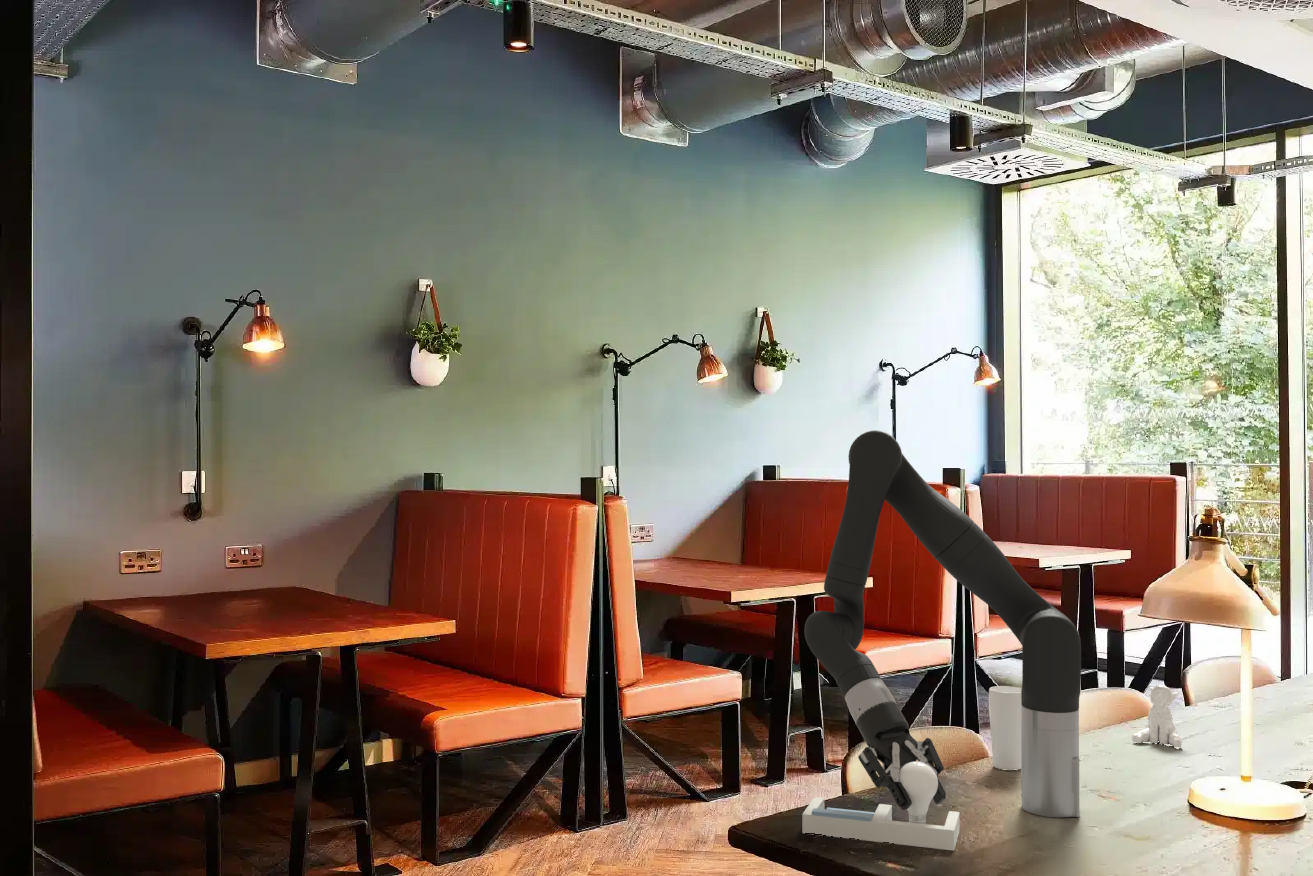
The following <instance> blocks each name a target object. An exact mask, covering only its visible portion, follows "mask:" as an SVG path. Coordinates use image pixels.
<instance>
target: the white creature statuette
mask: <svg viewBox="0 0 1313 876" xmlns="http://www.w3.org/2000/svg"><path fill="white" fill-rule="evenodd" d="M1149 690H1150V694H1149V697H1150V703H1152V704H1153V705H1152V706H1151V707H1150V708H1149V711H1148V715H1147V724H1146V725H1145V728H1144V729H1142V730H1141V729H1140V730H1138V731H1136V732H1135V733H1134V734H1133V735H1132V736H1131V740H1132V742H1133V743H1134V742H1137V743H1143V742H1151V743H1159V742H1160V743H1159V744H1168V743H1169V744H1170V745H1172V746H1174V747H1181V748H1182V745H1183V741H1182V738H1181V737H1180V736H1179V735H1178V732H1177V731H1176V727H1175V725H1174V722H1173V714H1172V711H1171V709H1170V708H1169V707H1170V706H1171V705H1172V704H1173V701H1175V700H1176V699H1177V697H1178V694H1179V692H1178V691H1176V692H1173V691H1172V689H1171V688H1170V687H1167V685H1164V684H1157V685H1154V686H1153V687H1152V686H1149ZM1158 741H1159V742H1158Z"/></svg>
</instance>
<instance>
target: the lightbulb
mask: <svg viewBox="0 0 1313 876" xmlns="http://www.w3.org/2000/svg"><path fill="white" fill-rule="evenodd" d="M937 777H938V776H936V773H935V772H934V770H933V769H932V768H931V767H930V766H929V765H927V764H925V763H923V762H918V760H916V761H914V762H909V763H907V764H905V765H904V766H903V767H902V768H901V769H900V770H899V781H898V782H901V783H902V785H903V787H904V788H905V790H906V792H907V794H908V795H909V797H910V799H911V801H912V804H911V806H910V807H909V808H908V809H907V812H908V822H910V823H919V824H927V819H926V818H927V813H928V811H929V807H930V803H931V801H932V800H933V797H934V796H935V794H936V792H937V789H938V779H939V778H938V779H937Z"/></svg>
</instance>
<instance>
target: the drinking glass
mask: <svg viewBox="0 0 1313 876" xmlns="http://www.w3.org/2000/svg"><path fill="white" fill-rule="evenodd" d="M1021 690H1022V687H1019V686H1018V687H1017V686H1011V685H1010V686H1008V685H997V686H991V687H989V689H988V714H989V715H988V716H989V727H990V728H989V729H990V736H991V737H990V739H991V750H992V766H993V767H994V768H995V769H997V768H998V769H997V770H1000V769H1007V770H1014V769H1019V770H1021Z"/></svg>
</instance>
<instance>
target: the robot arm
mask: <svg viewBox="0 0 1313 876" xmlns="http://www.w3.org/2000/svg"><path fill="white" fill-rule="evenodd" d="M847 458H848V464H849V470H848V471H849V472H848V484H847V493H846V499H845V504H844V509H843V513H842V516H841V520H840V523H839V528H838V529H837V533H836V537H835V539H834V540H835V541H834V543H833V547H832V550H831V554H830V557H829V561H828V566H827V570H826V573H825V575H826V576H825V579H824V584H823V591H824V593H825V594H826V595H827V596H829V597H830V598H833V612H832V611H828V610H827V611H826V610H818V611H815V612H812V613H811V614H810V615H809V616H808V617H807V619H806V621H805V624H804V628H803V630H804V638H805V641H806V644H807V646H808V647H809V649H810V652H811V653H812V654H813V655H814V656H815V658H816V659H817V660H818V661H819V664H820V663H821V665H822V666H823V668H824V669H825V670H826V672H827V673H829V674H830V676H832V677H833V679H834V680H835V683H836V685H837V687H838V688H839V691H840V692H841V695H842V697H843V698H844V700H845V702H846V705H847V708H848V711H849V713H850V716H852V718H853V721H854V722H855V725H856V726H857V728H858V731H859V732H860V734H861V736H862V738H863V740H864V742H865V744H866V747H864V748H863V750H862V751H861V752H860V754H859V755H858V757H857V758H858V761H859V762H860V764H861V765H862V767H863V769H864V770H865V771H866V773H867V775H868V776H869V778H870V779H871V781H872V783H873V784H874V786H875V787H877V788H879V789H880V788H882V787H883V788H886V789H887V790H888V791H889V792H890V794H891V795H892V797H893V800H894V801H895V803H896V805H897V806H898V807H899V808H900V809H901V810H902V811H906V810H907V809H908V808H909V807H910V806H911V804H912V801H911V799H910V797H909V795H908V794H907V792H906V790H905V788H904V787H903V785H902V783H901V782H898V781H899V771H900V769H901V768H902V767H903V766H904V765H905V764H907V763H909V762H914V761H918V762H923V763H925V764H927V765H929V766H930V767H931V768H932V769H933V770H934V772H935V773H936V776H937V779H938V789H937V792H936V794H935V796H934V797H933V799H932V800H933V801H934V803H935V804H936V805H939V804H942V803H943V802H944V801H945V800H946V797H947V793H946V790H945V789H944V786H943V785H942V783H941V781H940V779H939V777H938V776H939V775H940V774H941V773H942V772H943V771H944V769H945V768H944V764H943V763H942V760H941V758H940V756H939V754H938V751H937V749H936V747H935V745H934V743H933V741H932V739H931V738H929V737H926V738H925V739H924V740H916V739H915V738H914V737H913V736H912V735H911V733H910V727H909V726H910V725H909V723H908V721H907V720H906V718H905V715H904V714H903V712H902V711H901V708H900V707H899V705H898V703H897V702H896V699H895V698H894V696H893V695H892V692H891V691H890V689H889V688H888V687H887V685H886V683H885V682H884V681H883V679H882V678H881V676H880V673H879V672H878V670H877V668H876V667H875V665H874V663H873V661H872V660H871V659H870V658H869V656H868V655H866V654H865V653H862V652H860V651H858V650H857V648H858V647H859V646H860V644H861V641H862V640H863V639H862V638H863V636H864V629H865V603H864V601H865V600H864V593H865V589H866V585H867V581H868V576H869V574H870V573H869V571H870V570H871V569H870V568H871V564H872V559H873V554H874V549H875V542H876V538H877V537H876V536H877V531H878V525H879V521H880V518H881V517H880V516H881V513H882V509H883V506H884V503H885V501H886V502H887V503H888V504H889V505H890V506H891V507H892V508H893V510H895V511H896V512H897V513H898V514H899V516H900V517H901V518H902V519H903V521H904V523H906V525H907V526H908V528H909V529H910V530H911V532H912V533H913V534H914V535H915V537H916V538H917V539H918V541H919V542H920V543H921V544H922V545H923V546H924V547H925V549H926V550H927V551H928V553H930V555H931V556H932V558H934V559H935V560H936V561H937V562H938V563H939V564H940V565H941V566H942V567H943V568H944V569H945V570H946V571H947V573H948V574H949V575H950V576H951V577H953V578H954V579H955V580H956V581H957V582H958V583H960V584H961V585H962V586H963V587H964V588H965V589H967V590H968V591H969V592H970V593H972V594H973V595H974V596H976V597H977V598H979V599H980V600H981V601H983V602H984V603H985V604H986V605H987V606H989V607H990V609H992V610H993V611H994V612H995V613H996V614H997V615H998V617H999V618H1001V620H1002V622H1004V623H1005V624H1006V626H1007V627H1008V628H1009V630H1010V631H1011V633H1013V635H1014V636H1015V638H1016V639H1017V640H1018V642H1019V643H1020V645H1021V646H1022V647H1021V648H1022V649H1021V651H1022V652H1021V653H1022V654H1021V655H1022V665H1021V666H1022V675H1021V676H1022V678H1021V679H1022V681H1021V688H1022V690H1021V769H1020V772H1021V776H1020V777H1021V779H1020V780H1021V783H1020V784H1021V787H1020V788H1021V793H1020V798H1021V799H1020V800H1021V802H1020V803H1021V804H1020V805H1021V808H1022V809H1023V810H1024V811H1025V812H1028V813H1030V814H1034V815H1036V816H1037V815H1038V816H1041V817H1047V818H1048V817H1050V818H1070V817H1073V818H1079V817H1081V816H1080V696H1081V689H1082V688H1081V687H1082V684H1081V681H1082V677H1081V676H1082V644H1081V641H1082V640H1081V637H1080V633H1079V631H1078V629H1077V627H1076V625H1075V624H1074V622H1072V620H1071V619H1070V618H1069V617H1068V616H1066V615H1065V614H1064V613H1062V611H1060V610H1058V609H1057V608H1056V607H1055V606H1053V605H1052V604H1051V603H1050V602H1048V601H1047V600H1046V599H1045V598H1043V597H1042V596H1041V595H1040V594H1039V593H1038V592H1037V591H1036V590H1034V588H1032V587H1031V586H1030V585H1029V584H1028V582H1026V581H1025V580H1024V579H1023V577H1021V575H1020V574H1019V573H1018V572H1017V570H1016V569H1015V568H1014V566H1013V564H1011V562H1010V561H1009V560H1008V558H1007V557H1006V556H1005V554H1004V553H1003V551H1001V549H1000V548H999V547H998V546H997V544H996V543H995V542H994V541H993V540H992V538H991V537H989V535H987V534H986V532H984V530H983V529H982V528H981V527H980V526H979V525H978V524H977V523H976V522H974V520H973V519H972V518H971V517H970V516H969V515H968V514H966V512H964V511H963V510H962V509H960V507H958V506H957V505H956V504H955V503H953V502H952V501H950V500H949V499H948V498H947V497H945V496H944V495H943V494H941V493H940V492H939V491H937V490H935V488H933V487H932V486H931V485H930V484H929V483H928V482H926V480H925V479H923V477H922V476H921V475H920V473H918V471H917V470H916V469H915V468H914V467H913V465H911V463H910V462H909V461H908V459H907V458H906V456H905V455H904V454H903V451H902V448H901V445H900V444H899V442H898V441H897V440H896V438H895V437H894V436H892V435H891V434H890V433H887V432H886V431H883V430H876V429H875V430H869V431H866V432H864V433H862V434H859V436H857V437H856V438H855V439H854V441H853V442H852V443H851V445H850V447H849V451H848V457H847ZM881 763H882V764H881ZM907 811H908V810H907Z"/></svg>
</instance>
